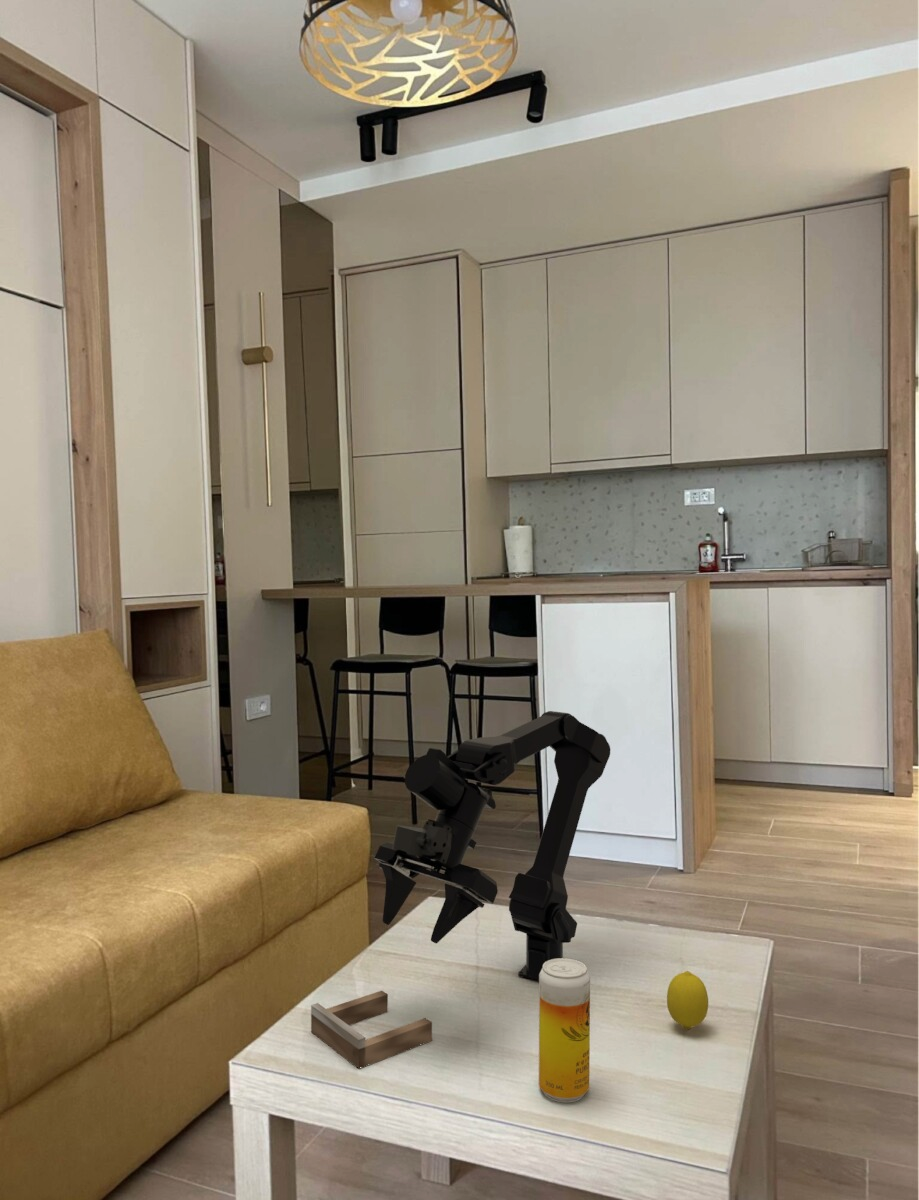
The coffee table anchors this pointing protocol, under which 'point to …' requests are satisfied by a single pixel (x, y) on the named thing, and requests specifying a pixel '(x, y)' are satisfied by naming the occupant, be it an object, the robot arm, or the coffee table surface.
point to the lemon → (687, 1000)
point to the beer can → (564, 1029)
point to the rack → (352, 1044)
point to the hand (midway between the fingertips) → (408, 932)
